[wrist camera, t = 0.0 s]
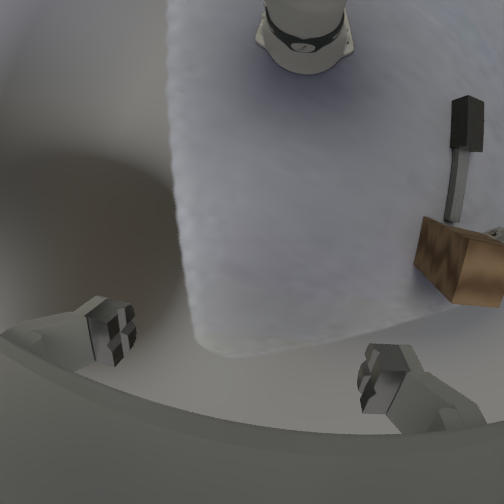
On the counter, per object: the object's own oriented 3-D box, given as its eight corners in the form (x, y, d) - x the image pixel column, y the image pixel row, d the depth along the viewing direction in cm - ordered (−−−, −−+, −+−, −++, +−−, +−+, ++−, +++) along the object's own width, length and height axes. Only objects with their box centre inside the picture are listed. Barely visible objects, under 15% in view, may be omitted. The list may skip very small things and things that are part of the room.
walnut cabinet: (423, 216, 52) (469, 239, 34) (470, 226, 50) (521, 251, 33) (413, 264, 55) (451, 303, 37) (459, 271, 53) (503, 308, 36)
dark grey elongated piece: (451, 100, 44) (467, 95, 37) (467, 106, 44) (484, 101, 37) (440, 217, 51) (455, 224, 45) (455, 220, 51) (471, 227, 44)
